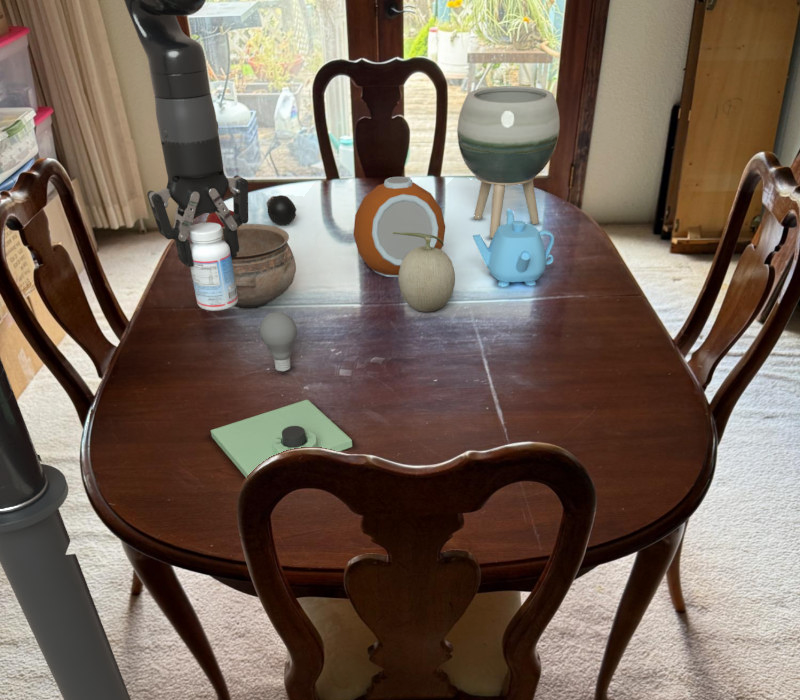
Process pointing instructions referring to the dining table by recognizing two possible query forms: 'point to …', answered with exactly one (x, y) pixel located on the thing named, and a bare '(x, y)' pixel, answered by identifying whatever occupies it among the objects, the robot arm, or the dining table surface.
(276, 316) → the light bulb
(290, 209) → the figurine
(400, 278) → the fruit
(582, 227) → the dining table surface
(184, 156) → the robot arm
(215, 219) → the apple
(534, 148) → the planter
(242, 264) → the cooking pot
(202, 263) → the pill bottle
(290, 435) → the button
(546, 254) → the teapot
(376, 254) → the alarm clock
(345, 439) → the scale
